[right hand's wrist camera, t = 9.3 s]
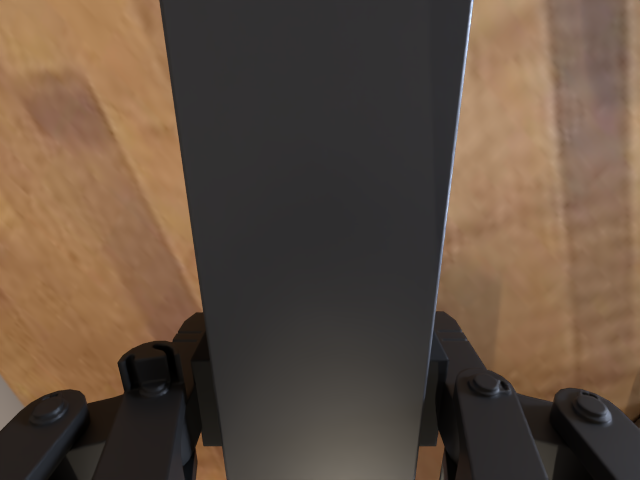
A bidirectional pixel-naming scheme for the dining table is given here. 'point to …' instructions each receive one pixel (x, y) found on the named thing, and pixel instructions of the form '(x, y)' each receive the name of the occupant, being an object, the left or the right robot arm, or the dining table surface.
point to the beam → (318, 219)
